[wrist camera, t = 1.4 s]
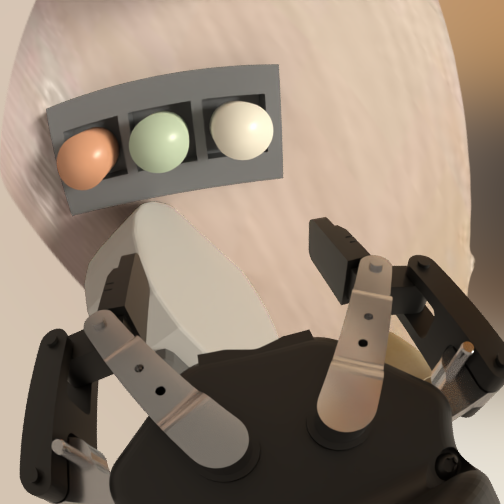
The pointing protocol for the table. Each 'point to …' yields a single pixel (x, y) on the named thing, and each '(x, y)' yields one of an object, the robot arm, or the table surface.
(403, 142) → the table surface
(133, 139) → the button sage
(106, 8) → the table surface
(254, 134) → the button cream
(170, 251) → the alarm clock
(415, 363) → the plant pot
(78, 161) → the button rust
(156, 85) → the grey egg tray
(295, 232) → the table surface
